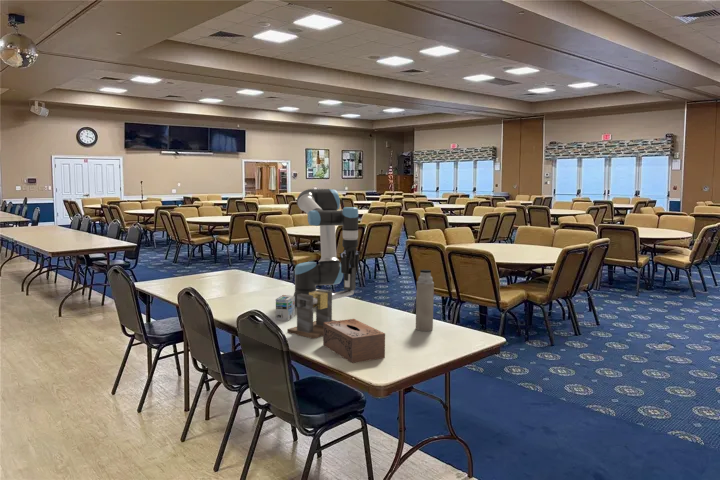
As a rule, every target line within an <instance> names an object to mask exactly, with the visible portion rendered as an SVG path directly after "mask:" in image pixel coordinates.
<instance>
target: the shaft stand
mask: <svg viewBox="0 0 720 480" xmlns="http://www.w3.org/2000/svg"><path fill="white" fill-rule="evenodd" d="M316 291H320V292H327V293H328V308H324V309H321V310H320V309H318V307H315V309H316V310H315V312H316V313H315V316H316V317H315V321H314V308H313V295H307V294H297V307H296V326H293V327H291V328H287V333H289V334H293V335H297V336H301V337H304V338H305V337H306V338H309V339H317V338H320V337H323V323H324V322H332V321H336V320H335V319H333V312H332V311H333V300H332V293H333V291H332V290H327V289H321V288H320V289H316ZM304 300H305V301H306V306H304Z"/></svg>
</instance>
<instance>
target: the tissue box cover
mask: <svg viewBox="0 0 720 480" xmlns="http://www.w3.org/2000/svg"><path fill="white" fill-rule="evenodd" d="M322 337H323V340H322V341H323V342H322V343H323V345H322V346H324V347H325V348H327V349H329V350H330V351H332V352H334V353H335V354H337V355H338V356H340V357H341V358H343V359H345V360H346V361H348V362H349V363H352V364H355V363H356V364H357V363H362V362H367V361H373V360H378V359H385V356H386V333H385V332H383V331H381V330H379V329H377V328H375V327H373V326H370V325H368V324H366V323H364V322H362V321H361V320H360V321H359V320H357V319H355V318H348V319H342V320H341V319H339V320H335V321H332V322H324V323H323V336H322Z"/></svg>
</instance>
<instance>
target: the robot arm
mask: <svg viewBox="0 0 720 480" xmlns="http://www.w3.org/2000/svg"><path fill="white" fill-rule="evenodd" d="M296 205H297V207H298V208H299V209H300V210H301V211H303V212H305V214H306V215H307V222H308V223H307V224H308V226H314V227H319V235H320V236H319V238H320V254H321V255H320V256H321V257H320V259H319V260H318V264H317V262H315V261H307V262H300V263H298V264H296V265H295V267H294V293H293V296H295V307H296V308H297V294H307V295H309V292H314V291H316V290H317V286H333V285H339V284H340V283H341V282H342V280H343V281H344V280H345V287H350V274H349V268H350V267H356V274H357V273H358V271H359V263H360V262H359V261H360V256H361V255H360V254H361V251H358V250H357V248H358V247H359V246H358V245H359V208H358V207H355V206H351V207H350V206H344V207H343V208H342V209H340V207H341V201H340V195H339V193H338V191H337V189H333V188H332V189H329V188H308V189H306V190H303V191H301V192H300V193H299V194H298V196H297V198H296ZM336 226H342V241H341V242H342V245H341V246H342V247H343V252H340V253H339V256H340V259H339V258H338V256H337V240H336V237H337V236H336ZM304 306H306V301H305V300H304Z"/></svg>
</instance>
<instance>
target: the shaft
mask: <svg viewBox="0 0 720 480" xmlns="http://www.w3.org/2000/svg"><path fill="white" fill-rule="evenodd" d="M349 274H350V287H345V280H344V279H343V290H339V291H336V292H332V301H334V300H337V299H342V298H346V297H350V296H353V295H354V294H355V291H356V288H357V286H356V285H357V283H356V282H357V279H356V278H357V277H356V276H357V275H356V274H357V273H356V267H350V268H349ZM315 304H318V298H313V305H315Z"/></svg>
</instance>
